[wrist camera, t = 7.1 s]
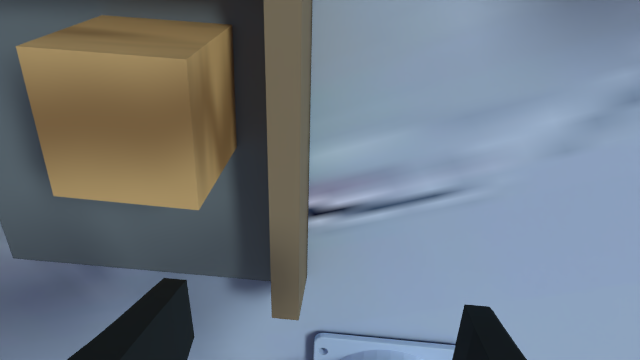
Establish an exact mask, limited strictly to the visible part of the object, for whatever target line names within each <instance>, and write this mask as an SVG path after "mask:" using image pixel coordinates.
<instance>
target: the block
mask: <svg viewBox="0 0 640 360" xmlns="http://www.w3.org/2000/svg"><path fill="white" fill-rule="evenodd" d="M16 49H17V53H18V57H19V61H20V65H21V69H22V73H23V77H24V81H25V85H26V89H27V93H28V97H29V101H30V105H31V109H32V113H33V117H34V121H35V125H36V129H37V133H38V137H39V141H40V145H41V149H42V153H43V156H44V160H45V164H46V168H47V172H48V176H49V180H50V184H51V188H52V192H53V196H57V197H68V198H78V199H88V200H98V201H109V202H119V203H129V204H139V205H150V206H160V207H170V208H180V209H190V210H199V209H200V208H201V206H202V204H203V203H204V201H205V199H206V198H207V196H208V194H209V193H210V191H211V189H212V188H213V186H214V184H215V183H216V181H217V179H218V178H219V176H220V174H221V173H222V171H223V169H224V168H225V166H226V164H227V163H228V161H229V159H230V158H231V156H232V154H233V153H234V151H235V149H236V148H237V139H236V112H235V84H234V56H233V29H232V25H230V24H217V23H203V22H189V21H175V20H162V19H148V18H134V17H121V16H107V15H101V16H98V17H95V18H93V19H90V20H87V21H84V22H82V23H79V24H76V25H73V26H70V27H68V28H65V29H62V30H59V31H56V32H54V33H51V34H48V35H45V36H43V37H40V38H37V39H34V40H31V41H29V42H26V43H23V44H20V45H18V46H16Z"/></svg>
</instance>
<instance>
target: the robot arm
mask: <svg viewBox="0 0 640 360" xmlns="http://www.w3.org/2000/svg"><path fill="white" fill-rule="evenodd" d="M193 339H194V331H193V324H192V317H191V309H190V302H189V295H188V288H187V280H180V279H169V278H164V279H162V280H161V281H160V282H159V283H158V284H157V285H155V286H154V287H153V288H152V289H151V290H150V291H149V292H147V293H146V294H145V295H144V296H143V297H142V298H141V299H140V300H138V301H137V302H136V303H135V304H134V305H133V306H132V307H131V308H129V309H128V310H127V311H126V312H125V313H124V314H123V315H121V316H120V317H119V318H118V319H117V320H116V321H114V322H113V323H112V324H111V325H110V326H108V327H107V328H106V329H105V330H104V331H103V332H101V333H100V334H99V335H98V336H97V337H95V338H94V339H93V340H92V341H90V342H89V343H88V344H86V345H85V346H84V347H83V348H81V349H80V350H79V351H78V352H76V353H75V354H74V355H72V356H71V357H70V358H69V359H67V360H187V358H188V355H189V352H190V349H191V345H192V342H193ZM321 348H325V349H321ZM313 360H527V359H526V358H525V357H524V355H523V354H522V353H521V351H520V350H519V348H518V347H517V345H516V344H515V343H514V341H513V340H512V338H511V337H510V335H509V334H508V333H507V331H506V330H505V328H504V327H503V325H502V324H501V322H500V321H499V319H498V318H497V316H496V315H495V313H494V312H493V310H492V309H491V308H490V307H486V306H475V305H464V310H463V314H462V318H461V323H460V327H459V332H458V336H457V341H456V345H446V344H436V343H425V342H415V341H404V340H394V339H384V338H373V337H363V336H352V335H342V334H332V333H319V334H317V335H316V336H315V339H314V354H313Z"/></svg>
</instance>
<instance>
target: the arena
mask: <svg viewBox="0 0 640 360" xmlns="http://www.w3.org/2000/svg"><path fill="white" fill-rule="evenodd" d="M101 15H107V16H121V17H134V18H148V19H162V20H175V21H189V22H203V23H217V24H230V25H232V29H233V56H234V84H235V112H236V139H237V148H236V149H235V151H234V153H233V154H232V156H231V158H230V159H229V161H228V163H227V164H226V166H225V168H224V169H223V171H222V173H221V174H220V176H219V178H218V179H217V181H216V183H215V184H214V186H213V188H212V189H211V191H210V193H209V194H208V196H207V198H206V199H205V201H204V203H203V204H202V206H201V208H200V209H199V210H190V209H180V208H170V207H160V206H150V205H139V204H129V203H119V202H109V201H98V200H88V199H78V198H68V197H57V196H53V192H52V188H51V184H50V180H49V176H48V172H47V168H46V164H45V160H44V156H43V153H42V149H41V145H40V141H39V137H38V133H37V129H36V125H35V121H34V117H33V113H32V109H31V105H30V101H29V97H28V93H27V89H26V85H25V81H24V77H23V73H22V69H21V65H20V61H19V57H18V53H17V49H16V46H18V45H20V44H23V43H26V42H29V41H31V40H34V39H37V38H40V37H43V36H45V35H48V34H51V33H54V32H56V31H59V30H62V29H65V28H68V27H70V26H73V25H76V24H79V23H82V22H84V21H87V20H90V19H93V18H95V17H98V16H101ZM311 45H312V0H0V221H1V224H2V227H3V230H4V233H5V236H6V239H7V242H8V244H9V247H10V250H11V253H12V256H13V258H16V259H27V260H39V261H50V262H61V263H72V264H84V265H95V266H106V267H117V268H129V269H140V270H151V271H162V272H173V273H185V274H196V275H207V276H218V277H230V278H241V279H252V280H263V281H271V303H272V318H280V319H291V320H299V315H300V310H301V305H302V300H303V294H304V289H305V284H306V278H307V246H308V196H309V146H310V95H311Z"/></svg>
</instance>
